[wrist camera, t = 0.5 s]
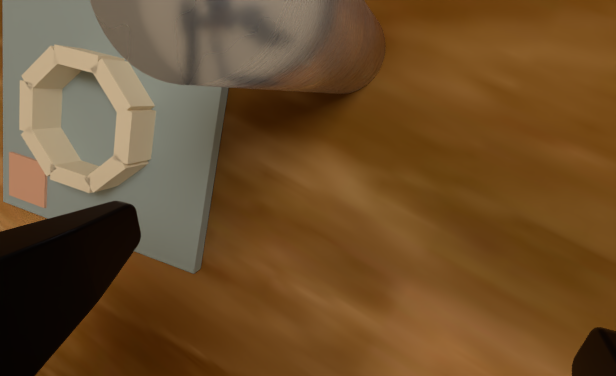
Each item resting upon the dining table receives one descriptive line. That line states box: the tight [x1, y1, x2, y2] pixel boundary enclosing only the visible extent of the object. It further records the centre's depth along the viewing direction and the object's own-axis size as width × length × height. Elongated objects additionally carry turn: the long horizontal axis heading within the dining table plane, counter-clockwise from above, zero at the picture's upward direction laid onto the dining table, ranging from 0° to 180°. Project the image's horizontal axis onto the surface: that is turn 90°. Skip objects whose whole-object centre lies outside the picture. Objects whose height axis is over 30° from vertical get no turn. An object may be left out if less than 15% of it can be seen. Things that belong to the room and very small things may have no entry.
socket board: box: [3, 0, 229, 274], centre depth 24 cm, size 16×16×3 cm
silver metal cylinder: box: [90, 0, 386, 94], centre depth 14 cm, size 4×4×14 cm
